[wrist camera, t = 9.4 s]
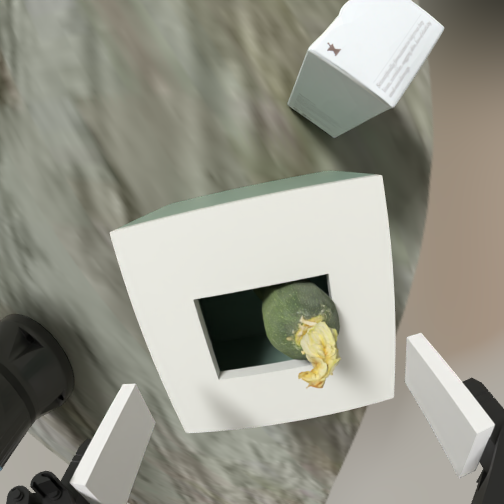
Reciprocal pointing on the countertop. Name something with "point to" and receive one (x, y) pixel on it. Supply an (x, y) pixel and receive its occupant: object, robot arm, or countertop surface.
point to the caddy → (250, 306)
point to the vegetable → (302, 326)
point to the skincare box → (363, 63)
